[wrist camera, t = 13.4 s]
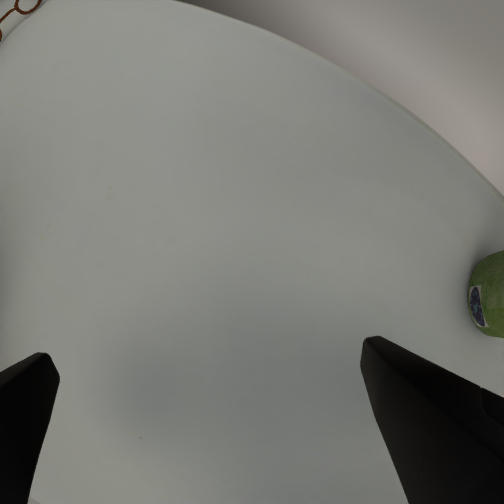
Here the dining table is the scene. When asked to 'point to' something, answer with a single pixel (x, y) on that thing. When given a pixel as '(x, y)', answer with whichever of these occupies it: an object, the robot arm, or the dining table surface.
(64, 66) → the dining table surface
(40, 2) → the glasses
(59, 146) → the dining table surface
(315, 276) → the dining table surface
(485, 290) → the beverage can
